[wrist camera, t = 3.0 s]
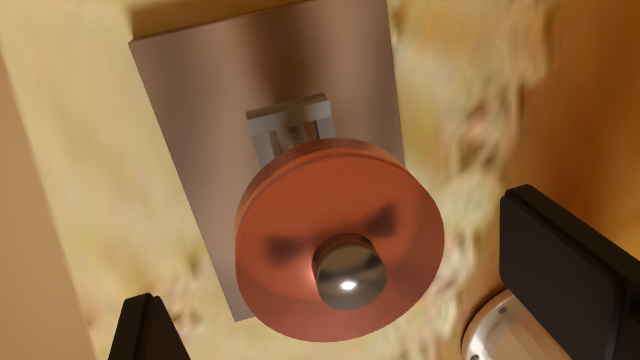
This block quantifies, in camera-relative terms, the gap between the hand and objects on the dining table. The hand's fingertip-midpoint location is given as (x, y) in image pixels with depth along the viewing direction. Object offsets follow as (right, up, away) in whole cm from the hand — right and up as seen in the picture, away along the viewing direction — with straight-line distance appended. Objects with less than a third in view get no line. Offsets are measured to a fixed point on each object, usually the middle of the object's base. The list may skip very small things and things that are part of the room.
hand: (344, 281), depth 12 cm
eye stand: (-2, +3, +17) cm, 18 cm away
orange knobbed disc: (-3, +6, +13) cm, 15 cm away
